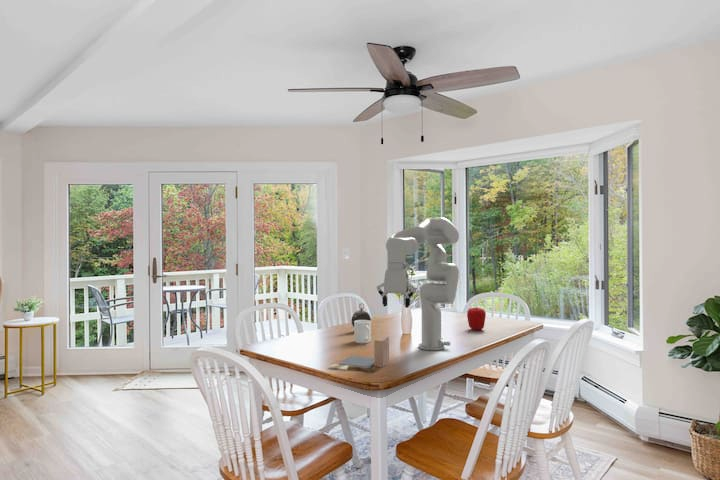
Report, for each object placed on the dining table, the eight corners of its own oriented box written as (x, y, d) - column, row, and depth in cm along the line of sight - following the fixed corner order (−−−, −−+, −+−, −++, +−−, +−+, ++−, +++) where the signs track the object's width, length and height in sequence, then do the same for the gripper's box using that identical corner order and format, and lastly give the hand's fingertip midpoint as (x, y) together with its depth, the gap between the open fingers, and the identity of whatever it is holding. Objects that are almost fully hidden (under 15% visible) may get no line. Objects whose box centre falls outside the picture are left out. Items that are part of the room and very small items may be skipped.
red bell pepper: (463, 329, 268) (463, 306, 268) (477, 327, 273) (477, 304, 273) (475, 332, 259) (475, 308, 259) (489, 330, 263) (489, 307, 263)
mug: (361, 345, 229) (361, 324, 228) (351, 341, 239) (351, 320, 239) (376, 344, 232) (376, 323, 232) (366, 339, 243) (366, 319, 243)
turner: (373, 369, 188) (373, 366, 188) (369, 372, 184) (369, 369, 184) (333, 365, 194) (333, 362, 194) (328, 368, 190) (328, 365, 190)
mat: (379, 359, 204) (379, 358, 204) (370, 367, 191) (370, 366, 191) (350, 356, 208) (350, 355, 208) (338, 364, 195) (338, 363, 195)
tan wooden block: (389, 361, 200) (388, 336, 200) (383, 367, 191) (383, 341, 191) (380, 360, 201) (380, 335, 201) (374, 366, 193) (374, 340, 192)
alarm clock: (367, 329, 268) (367, 302, 268) (372, 331, 263) (372, 303, 263) (351, 331, 262) (350, 303, 262) (355, 333, 258) (355, 304, 257)
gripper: (418, 266, 195) (418, 306, 195) (379, 265, 201) (379, 304, 201) (413, 267, 188) (413, 309, 188) (374, 266, 194) (374, 306, 194)
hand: (396, 306), depth 195 cm, fingers open, 9 cm apart
